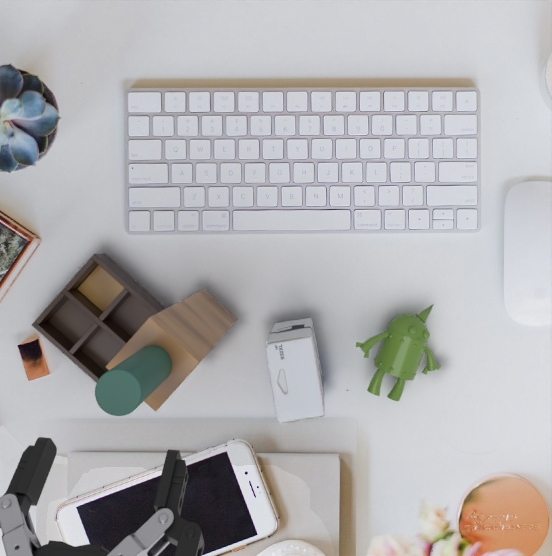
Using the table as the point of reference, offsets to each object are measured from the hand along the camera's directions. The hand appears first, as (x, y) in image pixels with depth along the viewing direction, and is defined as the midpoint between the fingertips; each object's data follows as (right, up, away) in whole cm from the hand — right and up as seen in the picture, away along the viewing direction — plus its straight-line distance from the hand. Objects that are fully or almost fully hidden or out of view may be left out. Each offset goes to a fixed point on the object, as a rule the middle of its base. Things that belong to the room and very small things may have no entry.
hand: (111, 448), depth 38 cm
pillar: (+1, +5, +30) cm, 31 cm away
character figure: (+24, +2, +30) cm, 39 cm away
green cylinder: (0, +4, +8) cm, 9 cm away
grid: (-11, +5, +30) cm, 33 cm away
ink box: (+12, +1, +30) cm, 33 cm away
